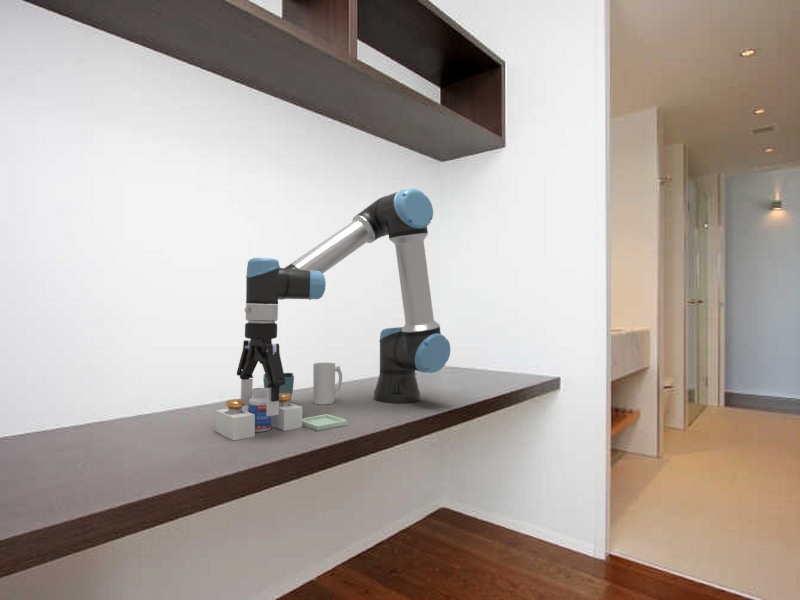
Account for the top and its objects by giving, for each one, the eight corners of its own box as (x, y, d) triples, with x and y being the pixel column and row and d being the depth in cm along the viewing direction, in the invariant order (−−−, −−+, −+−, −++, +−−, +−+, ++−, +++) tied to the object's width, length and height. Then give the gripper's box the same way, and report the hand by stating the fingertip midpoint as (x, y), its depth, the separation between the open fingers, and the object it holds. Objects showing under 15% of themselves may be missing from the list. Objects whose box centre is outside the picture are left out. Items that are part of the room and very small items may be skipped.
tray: (327, 418, 125) (327, 413, 125) (347, 425, 118) (347, 420, 118) (297, 424, 119) (297, 419, 119) (317, 431, 112) (317, 426, 112)
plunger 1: (239, 428, 112) (239, 398, 112) (246, 431, 109) (247, 401, 109) (222, 430, 109) (223, 400, 109) (229, 434, 106) (230, 403, 106)
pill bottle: (256, 433, 109) (257, 391, 109) (243, 429, 113) (243, 389, 113) (275, 429, 114) (276, 388, 114) (262, 425, 117) (262, 386, 117)
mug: (320, 405, 140) (320, 365, 140) (308, 402, 145) (309, 363, 145) (347, 401, 147) (348, 363, 147) (335, 398, 152) (336, 361, 152)
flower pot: (262, 408, 135) (263, 377, 135) (263, 402, 144) (263, 373, 144) (293, 407, 138) (294, 376, 138) (292, 401, 146) (292, 372, 146)
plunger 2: (286, 419, 120) (286, 392, 120) (294, 422, 117) (294, 394, 117) (271, 422, 118) (272, 394, 118) (279, 425, 115) (280, 396, 115)
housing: (281, 419, 123) (282, 400, 123) (302, 427, 116) (302, 407, 116) (215, 431, 111) (215, 410, 111) (233, 440, 103) (233, 417, 104)
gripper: (224, 320, 120) (222, 403, 120) (272, 324, 102) (269, 422, 101) (252, 320, 125) (250, 399, 125) (302, 324, 107) (299, 417, 107)
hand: (258, 410), depth 113 cm, fingers open, 13 cm apart
